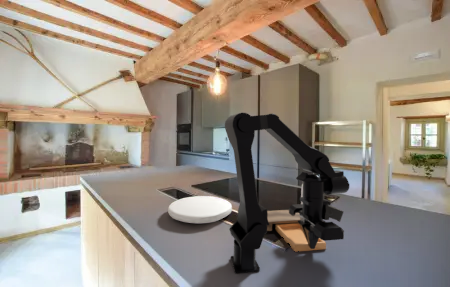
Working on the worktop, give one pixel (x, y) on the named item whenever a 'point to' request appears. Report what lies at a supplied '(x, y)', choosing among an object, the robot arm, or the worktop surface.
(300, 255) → the worktop surface
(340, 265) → the worktop surface
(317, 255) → the worktop surface
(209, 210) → the white thick disc
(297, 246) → the shallow tan tray
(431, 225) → the worktop surface
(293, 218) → the overhang
